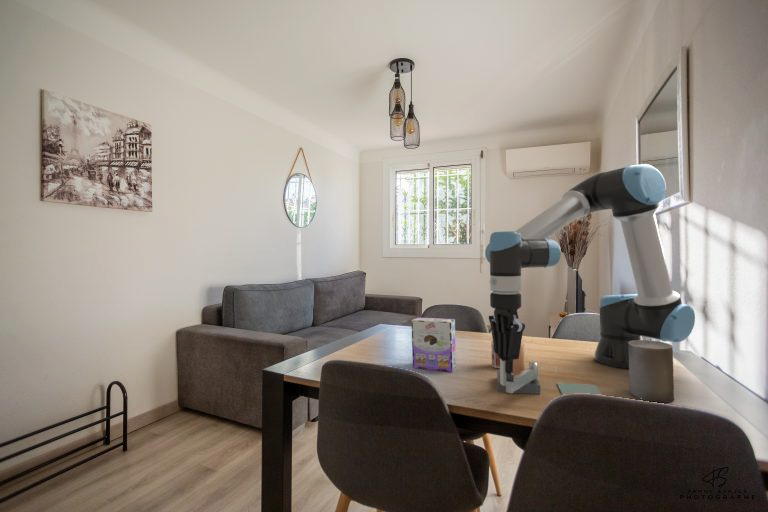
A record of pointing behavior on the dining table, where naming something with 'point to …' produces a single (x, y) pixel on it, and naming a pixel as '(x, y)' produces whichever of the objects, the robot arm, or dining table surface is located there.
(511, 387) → the clip
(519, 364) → the plug
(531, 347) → the dining table surface
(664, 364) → the pillar candle
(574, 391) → the mat
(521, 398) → the dining table surface
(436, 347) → the candy box
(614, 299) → the robot arm
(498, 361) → the pill bottle
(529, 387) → the socket
